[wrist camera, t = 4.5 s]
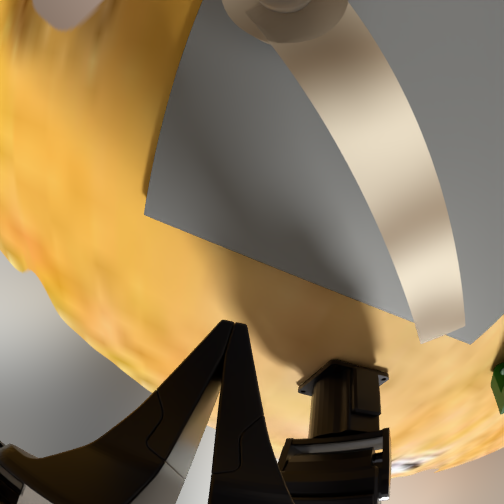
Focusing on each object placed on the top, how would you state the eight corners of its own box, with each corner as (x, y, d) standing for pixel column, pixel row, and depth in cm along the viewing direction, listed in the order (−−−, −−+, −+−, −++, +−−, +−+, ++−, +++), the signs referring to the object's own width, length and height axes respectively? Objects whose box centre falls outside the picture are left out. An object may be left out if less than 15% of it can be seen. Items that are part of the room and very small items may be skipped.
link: (218, -4, 8) (179, -29, 5) (300, -48, 6) (296, -91, 3) (406, 315, 16) (417, 369, 13) (460, 293, 15) (480, 344, 11)
